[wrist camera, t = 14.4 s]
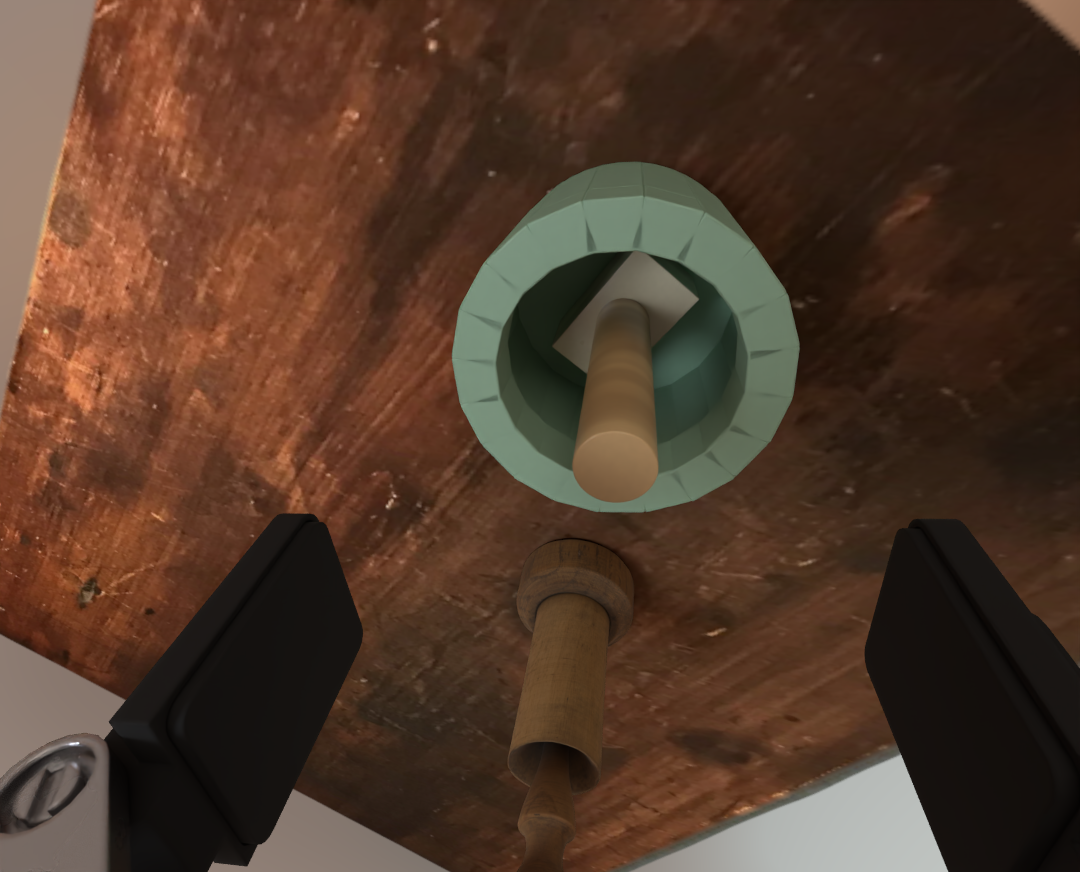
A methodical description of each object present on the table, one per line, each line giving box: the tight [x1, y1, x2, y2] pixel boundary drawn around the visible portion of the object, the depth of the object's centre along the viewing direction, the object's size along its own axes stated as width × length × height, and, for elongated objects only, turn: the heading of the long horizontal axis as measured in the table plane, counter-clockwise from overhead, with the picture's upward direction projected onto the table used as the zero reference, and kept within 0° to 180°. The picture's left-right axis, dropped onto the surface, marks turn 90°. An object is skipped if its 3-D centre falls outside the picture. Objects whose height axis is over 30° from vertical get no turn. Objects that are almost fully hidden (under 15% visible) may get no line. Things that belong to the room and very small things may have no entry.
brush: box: [552, 251, 699, 503], centre depth 19 cm, size 5×3×13 cm, turn 142°
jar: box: [452, 162, 800, 512], centre depth 22 cm, size 10×10×9 cm
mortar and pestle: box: [508, 539, 634, 872], centre depth 27 cm, size 7×6×18 cm
